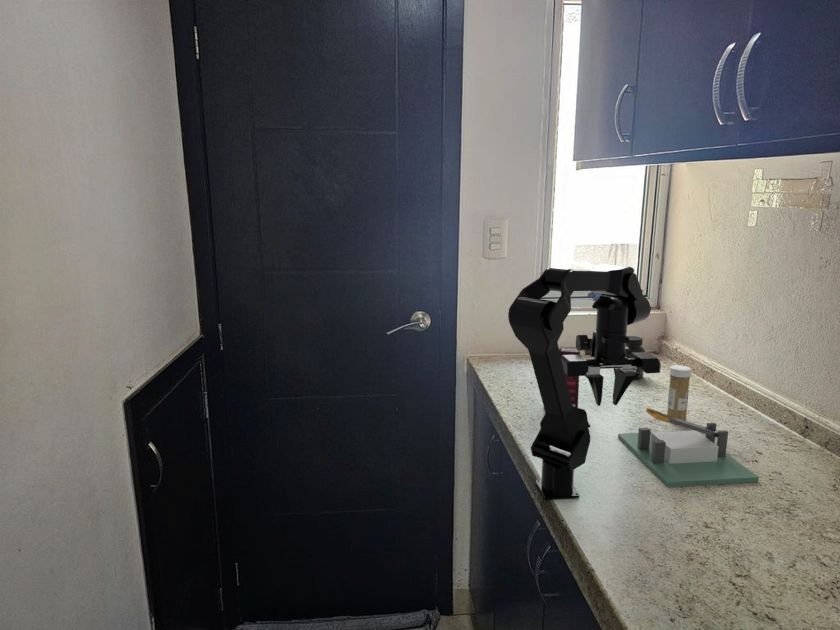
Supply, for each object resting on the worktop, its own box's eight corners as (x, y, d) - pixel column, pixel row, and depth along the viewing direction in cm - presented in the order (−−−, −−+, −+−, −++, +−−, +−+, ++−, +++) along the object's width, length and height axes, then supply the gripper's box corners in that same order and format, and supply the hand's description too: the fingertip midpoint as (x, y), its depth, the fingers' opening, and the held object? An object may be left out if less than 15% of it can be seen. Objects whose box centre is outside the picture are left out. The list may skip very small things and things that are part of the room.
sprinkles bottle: (686, 425, 135) (691, 371, 133) (665, 422, 137) (670, 368, 134) (686, 418, 140) (691, 365, 137) (665, 415, 141) (670, 363, 138)
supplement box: (577, 406, 148) (580, 347, 145) (577, 413, 144) (580, 352, 140) (543, 403, 150) (545, 345, 147) (542, 410, 146) (544, 350, 142)
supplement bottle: (614, 375, 172) (616, 336, 170) (631, 371, 175) (633, 333, 173) (631, 381, 166) (633, 341, 164) (648, 378, 169) (651, 339, 167)
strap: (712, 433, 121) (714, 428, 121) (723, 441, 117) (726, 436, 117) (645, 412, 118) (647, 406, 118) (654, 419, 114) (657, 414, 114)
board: (758, 481, 109) (762, 450, 108) (667, 487, 108) (670, 455, 106) (694, 434, 131) (697, 407, 129) (618, 437, 129) (619, 410, 128)
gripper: (638, 319, 120) (633, 389, 124) (551, 321, 119) (548, 392, 122) (665, 331, 109) (658, 408, 113) (570, 334, 108) (566, 412, 111)
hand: (606, 404), depth 115 cm, fingers open, 3 cm apart
